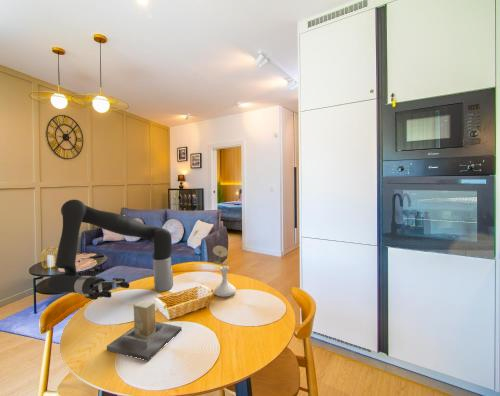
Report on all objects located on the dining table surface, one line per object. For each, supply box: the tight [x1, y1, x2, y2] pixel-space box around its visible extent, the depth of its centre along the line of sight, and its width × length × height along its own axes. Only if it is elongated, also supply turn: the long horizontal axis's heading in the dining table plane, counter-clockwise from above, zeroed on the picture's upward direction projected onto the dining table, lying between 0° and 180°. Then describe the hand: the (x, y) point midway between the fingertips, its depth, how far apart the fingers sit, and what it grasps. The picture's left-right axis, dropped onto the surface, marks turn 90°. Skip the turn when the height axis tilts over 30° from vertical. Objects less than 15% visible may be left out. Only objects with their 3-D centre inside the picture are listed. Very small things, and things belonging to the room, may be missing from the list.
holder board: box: [106, 321, 183, 362], centre depth 93 cm, size 18×18×4 cm
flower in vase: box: [212, 245, 237, 298], centre depth 130 cm, size 13×11×25 cm
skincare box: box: [133, 299, 156, 340], centre depth 93 cm, size 6×4×12 cm
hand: (120, 289), depth 99 cm, fingers open, 8 cm apart
